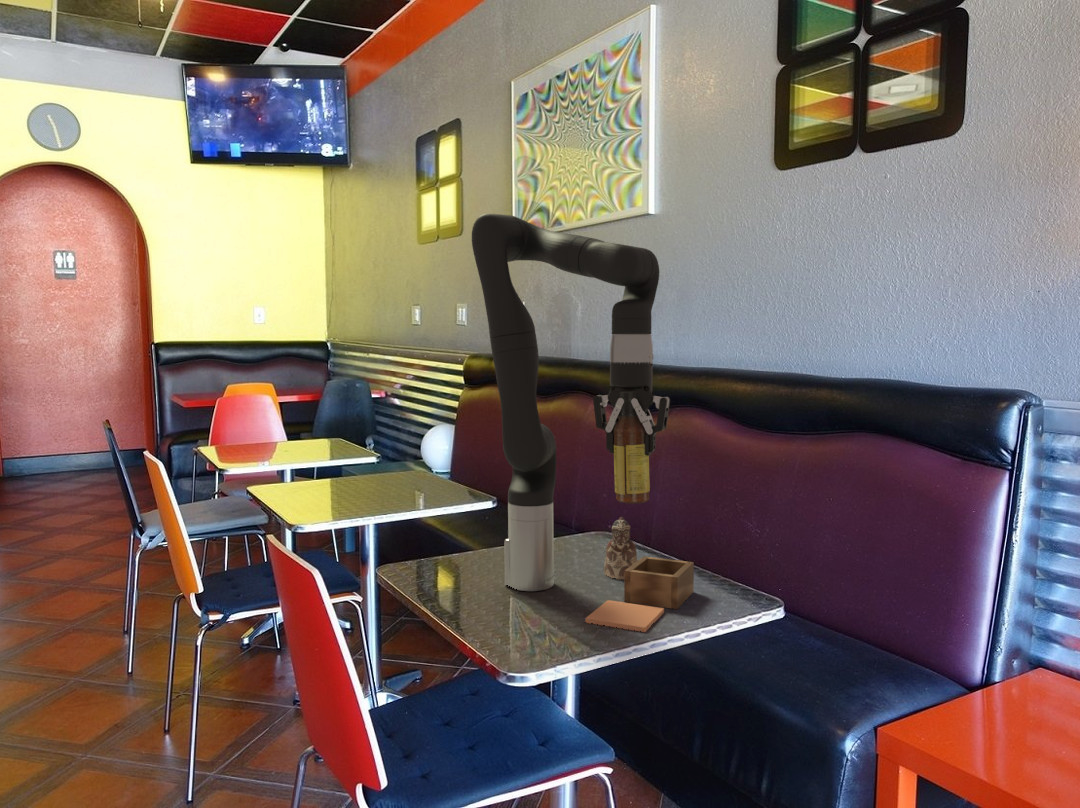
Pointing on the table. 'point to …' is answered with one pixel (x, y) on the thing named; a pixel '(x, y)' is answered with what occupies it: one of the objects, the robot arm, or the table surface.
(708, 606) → the table surface
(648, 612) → the terracotta mat
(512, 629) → the table surface
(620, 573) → the figurine
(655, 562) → the square holder
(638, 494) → the sauce bottle
